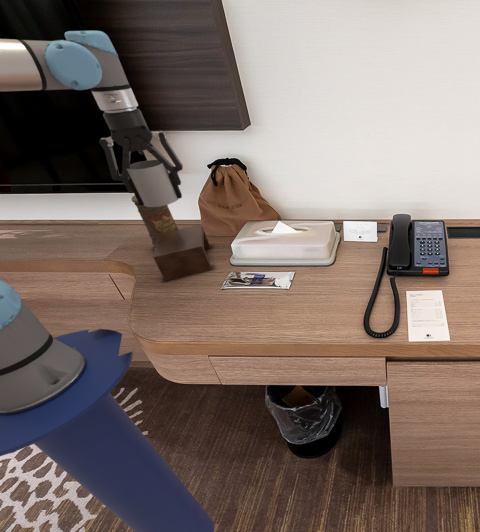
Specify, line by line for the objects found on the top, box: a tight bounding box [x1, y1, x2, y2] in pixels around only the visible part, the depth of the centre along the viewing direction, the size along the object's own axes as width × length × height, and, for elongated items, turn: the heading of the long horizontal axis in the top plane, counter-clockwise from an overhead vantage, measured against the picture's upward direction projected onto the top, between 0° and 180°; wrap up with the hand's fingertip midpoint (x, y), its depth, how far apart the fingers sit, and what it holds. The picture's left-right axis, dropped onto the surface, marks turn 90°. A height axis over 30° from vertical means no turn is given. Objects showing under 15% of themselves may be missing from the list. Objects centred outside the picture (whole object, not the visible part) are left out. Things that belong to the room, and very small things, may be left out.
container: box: [131, 194, 179, 250], centre depth 109 cm, size 9×9×18 cm
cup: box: [126, 159, 179, 207], centre depth 91 cm, size 8×8×10 cm
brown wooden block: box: [152, 224, 212, 282], centre depth 103 cm, size 12×16×8 cm
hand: (161, 199), depth 93 cm, fingers closed on cup, 8 cm apart
